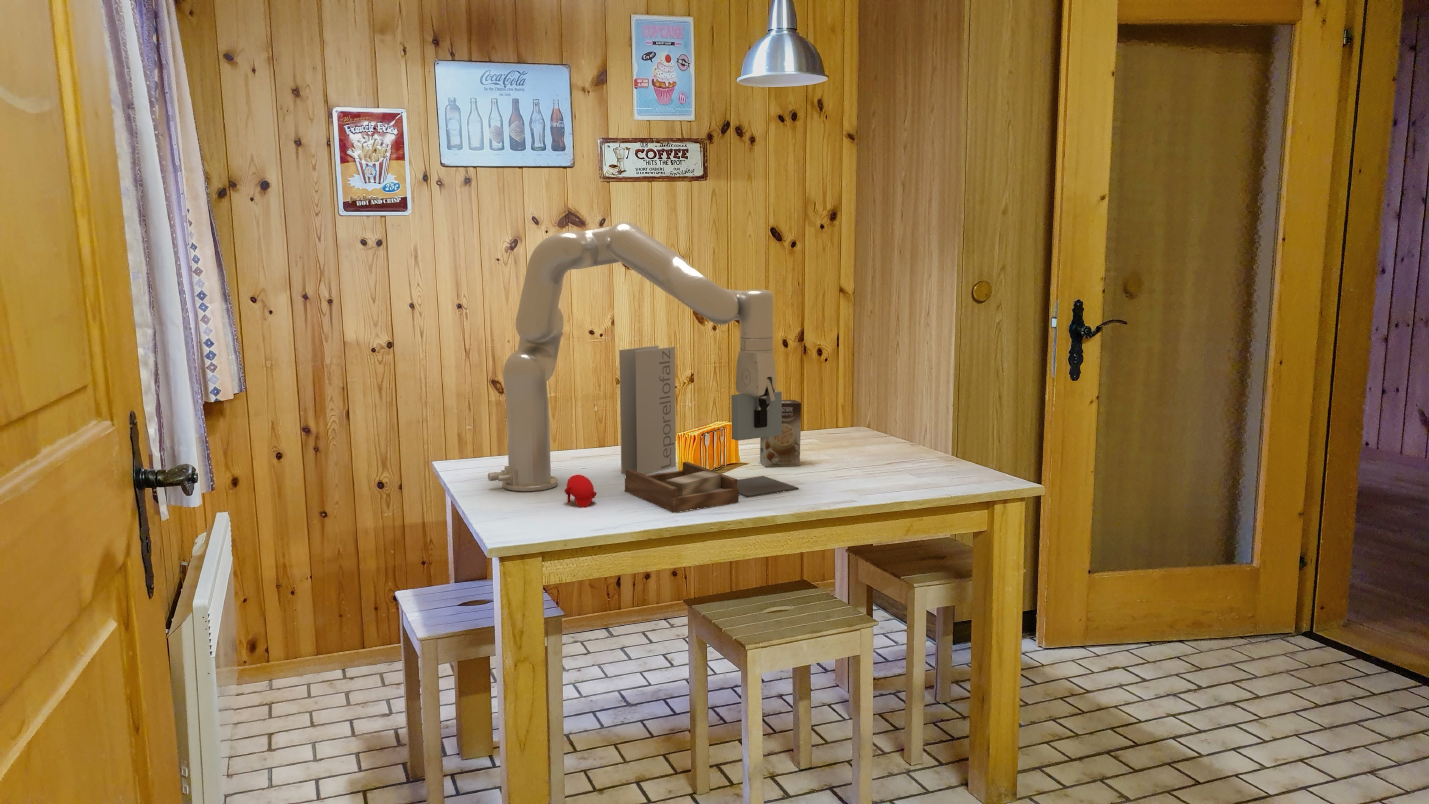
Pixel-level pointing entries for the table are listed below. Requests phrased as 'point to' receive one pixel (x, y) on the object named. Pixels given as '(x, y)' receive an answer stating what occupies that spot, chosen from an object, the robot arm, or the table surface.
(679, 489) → the offcut upper
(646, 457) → the grey tall box
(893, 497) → the table surface
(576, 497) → the cap
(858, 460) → the table surface
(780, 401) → the grey rectangular panel
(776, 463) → the coffee box
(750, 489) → the mat
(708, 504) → the tray
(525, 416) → the robot arm
